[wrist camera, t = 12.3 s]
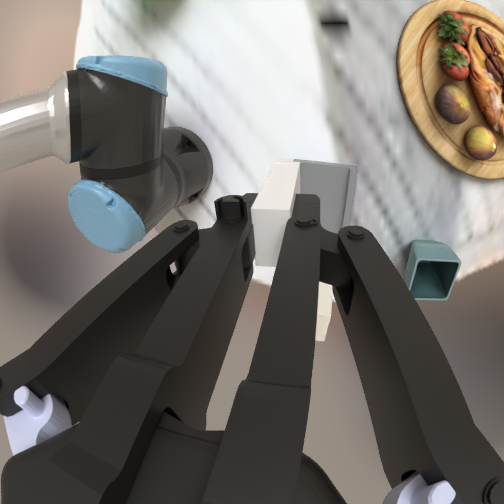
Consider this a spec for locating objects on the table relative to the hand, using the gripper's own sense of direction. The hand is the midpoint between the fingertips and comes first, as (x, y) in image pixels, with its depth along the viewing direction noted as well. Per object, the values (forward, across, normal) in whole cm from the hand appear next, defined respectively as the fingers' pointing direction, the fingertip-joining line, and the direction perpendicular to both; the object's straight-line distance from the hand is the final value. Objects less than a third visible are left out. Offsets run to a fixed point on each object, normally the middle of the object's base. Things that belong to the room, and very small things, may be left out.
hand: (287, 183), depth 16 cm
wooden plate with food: (+28, +31, +10) cm, 43 cm away
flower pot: (+28, +23, -22) cm, 42 cm away
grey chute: (+29, +2, -19) cm, 34 cm away
